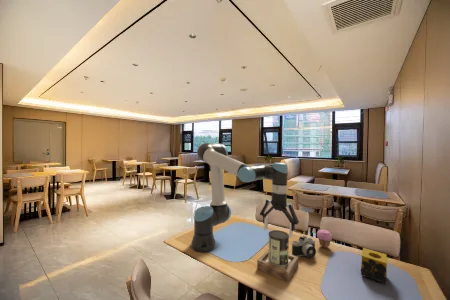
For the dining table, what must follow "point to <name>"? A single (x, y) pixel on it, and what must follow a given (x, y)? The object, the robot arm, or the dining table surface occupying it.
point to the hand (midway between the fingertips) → (277, 232)
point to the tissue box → (374, 265)
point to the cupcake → (324, 238)
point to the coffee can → (278, 248)
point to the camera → (304, 247)
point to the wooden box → (275, 270)
